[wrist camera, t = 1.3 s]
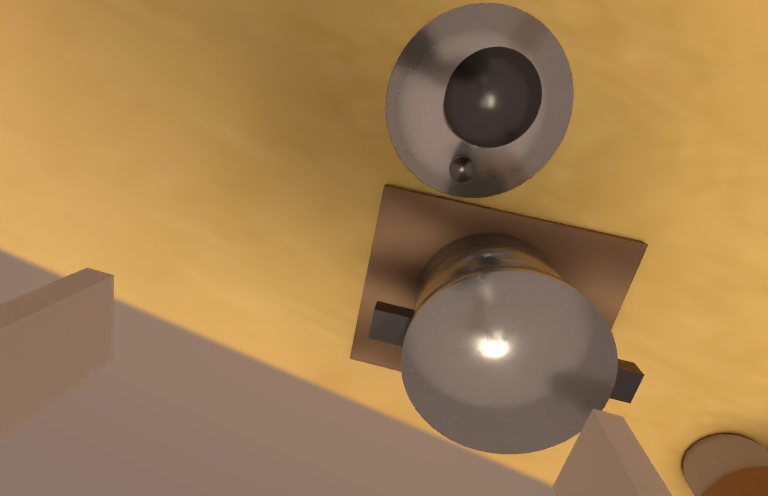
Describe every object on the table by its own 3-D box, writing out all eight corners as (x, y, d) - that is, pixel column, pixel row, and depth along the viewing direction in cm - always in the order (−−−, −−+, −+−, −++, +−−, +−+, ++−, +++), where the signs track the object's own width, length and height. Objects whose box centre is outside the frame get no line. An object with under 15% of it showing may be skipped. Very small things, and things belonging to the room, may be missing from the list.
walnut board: (385, 184, 30) (384, 186, 29) (642, 241, 28) (648, 244, 28) (351, 353, 34) (349, 358, 33) (570, 408, 33) (573, 415, 32)
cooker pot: (372, 341, 33) (349, 416, 24) (402, 206, 29) (387, 239, 21) (563, 388, 32) (609, 484, 23) (618, 255, 28) (697, 311, 20)
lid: (408, -6, 26) (392, -78, 17) (592, 29, 25) (680, -27, 16) (374, 174, 30) (346, 196, 20) (533, 209, 29) (577, 248, 20)
